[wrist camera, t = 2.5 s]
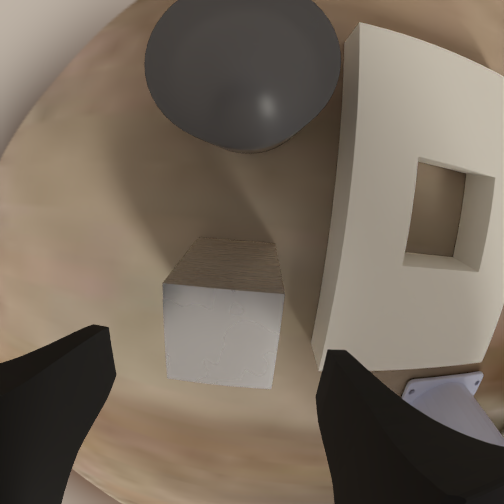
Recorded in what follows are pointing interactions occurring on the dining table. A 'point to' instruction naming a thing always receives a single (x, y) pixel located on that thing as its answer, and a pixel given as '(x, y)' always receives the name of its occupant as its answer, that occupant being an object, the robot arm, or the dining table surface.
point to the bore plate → (401, 203)
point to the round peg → (242, 69)
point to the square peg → (224, 313)
